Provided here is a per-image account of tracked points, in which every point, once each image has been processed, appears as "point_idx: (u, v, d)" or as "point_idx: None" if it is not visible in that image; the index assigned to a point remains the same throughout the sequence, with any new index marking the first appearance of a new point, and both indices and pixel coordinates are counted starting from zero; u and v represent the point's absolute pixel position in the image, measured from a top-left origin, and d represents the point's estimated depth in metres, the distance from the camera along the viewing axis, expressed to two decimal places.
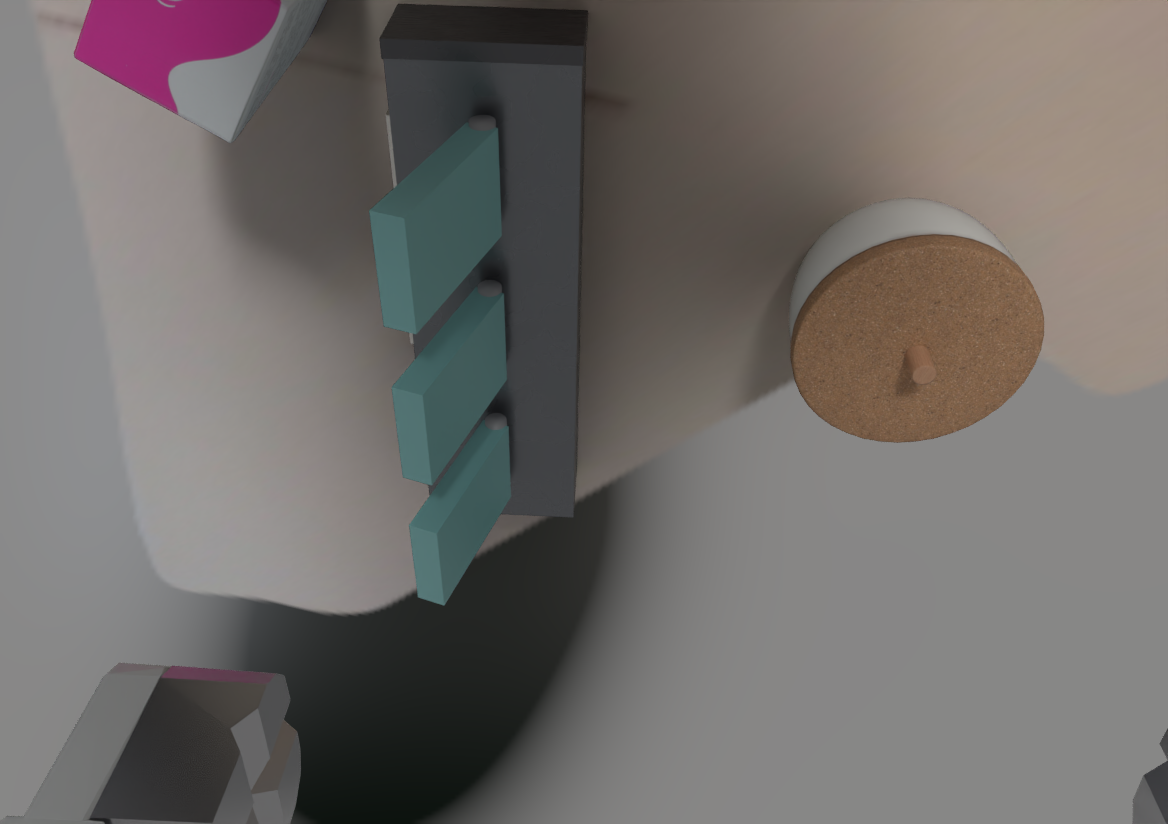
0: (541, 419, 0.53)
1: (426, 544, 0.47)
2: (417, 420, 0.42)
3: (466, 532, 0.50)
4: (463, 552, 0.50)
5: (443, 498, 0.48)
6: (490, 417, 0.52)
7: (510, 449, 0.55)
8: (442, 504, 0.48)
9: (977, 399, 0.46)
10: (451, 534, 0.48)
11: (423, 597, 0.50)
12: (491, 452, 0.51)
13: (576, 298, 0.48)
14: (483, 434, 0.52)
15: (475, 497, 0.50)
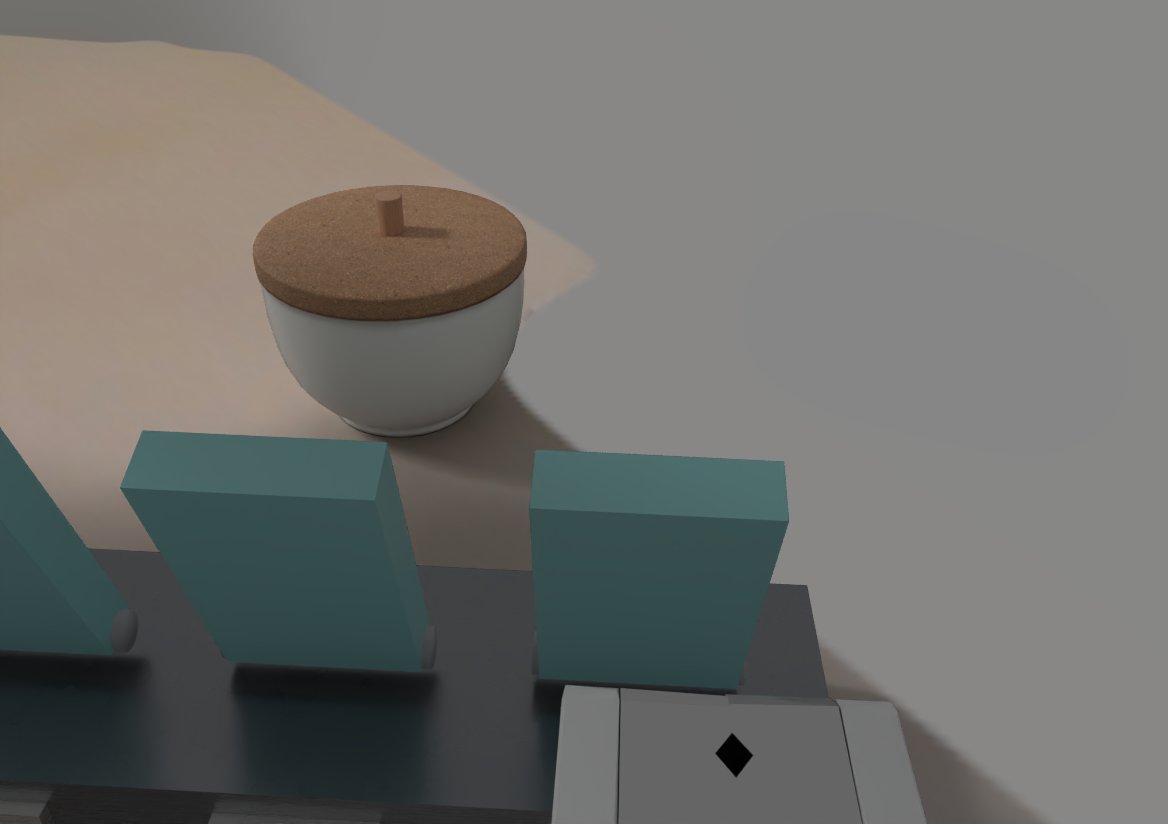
0: None
1: (579, 477, 0.20)
2: (205, 447, 0.21)
3: None
4: None
5: None
6: None
7: None
8: None
9: (462, 201, 0.44)
10: None
11: (787, 513, 0.20)
12: None
13: None
14: None
15: None
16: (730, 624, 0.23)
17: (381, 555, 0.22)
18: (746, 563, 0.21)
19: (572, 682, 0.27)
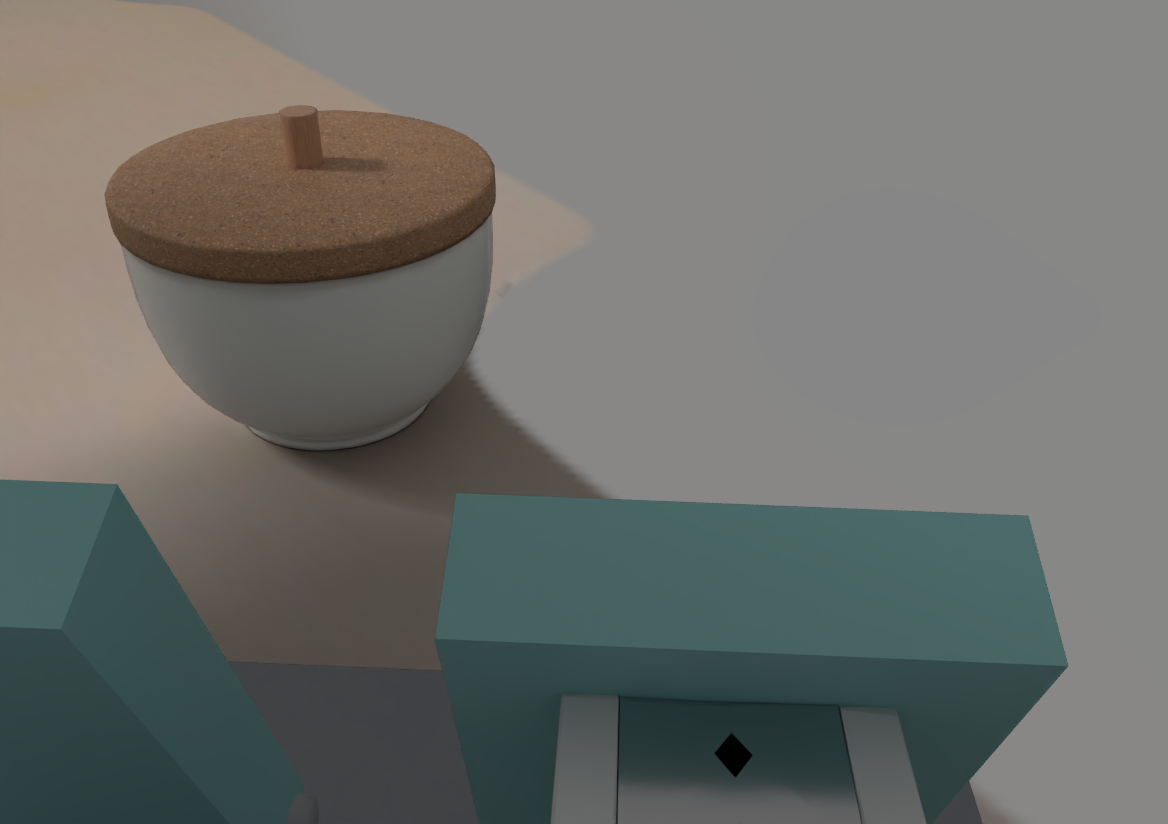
0: None
1: (559, 558, 0.09)
2: None
3: None
4: None
5: None
6: None
7: None
8: None
9: (409, 129, 0.32)
10: None
11: (1057, 643, 0.08)
12: None
13: None
14: None
15: None
16: None
17: (127, 727, 0.10)
18: (933, 742, 0.09)
19: None
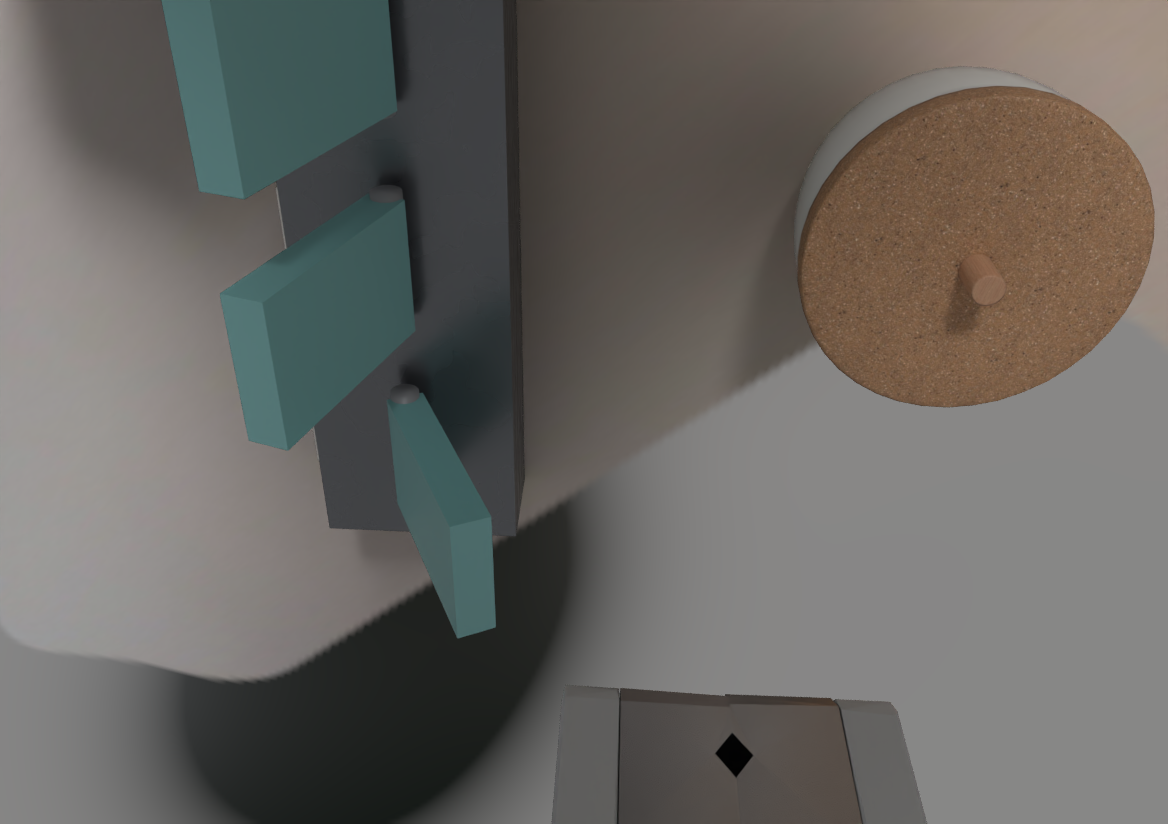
0: (467, 395, 0.40)
1: (474, 543, 0.34)
2: (259, 344, 0.29)
3: None
4: None
5: (449, 483, 0.35)
6: (395, 392, 0.39)
7: None
8: (457, 489, 0.34)
9: (1059, 339, 0.33)
10: None
11: (463, 634, 0.36)
12: (438, 422, 0.38)
13: (506, 214, 0.36)
14: (406, 411, 0.38)
15: None
16: (420, 546, 0.39)
17: None
18: (442, 594, 0.37)
19: None
